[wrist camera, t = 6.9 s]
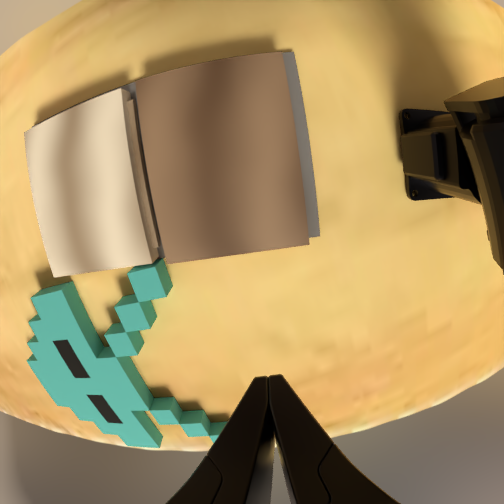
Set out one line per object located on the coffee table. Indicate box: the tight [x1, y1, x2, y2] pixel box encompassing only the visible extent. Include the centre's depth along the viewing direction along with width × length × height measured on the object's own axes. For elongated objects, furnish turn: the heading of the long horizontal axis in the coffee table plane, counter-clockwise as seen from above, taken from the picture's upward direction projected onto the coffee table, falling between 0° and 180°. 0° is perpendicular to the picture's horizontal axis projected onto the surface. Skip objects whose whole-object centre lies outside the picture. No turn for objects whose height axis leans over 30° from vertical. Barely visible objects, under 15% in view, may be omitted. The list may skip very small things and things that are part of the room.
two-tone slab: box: [32, 52, 320, 264], centre depth 17 cm, size 20×12×2 cm, turn 98°
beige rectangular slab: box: [24, 88, 161, 277], centre depth 17 cm, size 9×12×2 cm
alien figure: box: [27, 258, 228, 448], centre depth 23 cm, size 20×2×20 cm
